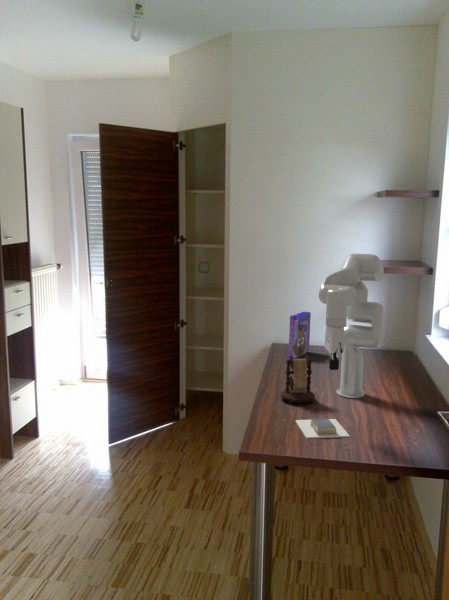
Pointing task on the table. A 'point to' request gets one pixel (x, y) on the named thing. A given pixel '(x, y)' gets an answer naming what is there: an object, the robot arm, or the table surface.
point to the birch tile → (323, 427)
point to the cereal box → (299, 334)
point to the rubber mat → (310, 433)
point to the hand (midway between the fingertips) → (333, 369)
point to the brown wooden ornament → (298, 381)
